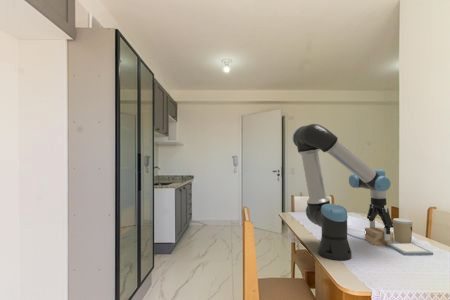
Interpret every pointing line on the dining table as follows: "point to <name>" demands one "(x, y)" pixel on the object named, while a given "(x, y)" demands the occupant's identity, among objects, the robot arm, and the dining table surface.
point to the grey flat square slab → (409, 249)
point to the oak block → (377, 236)
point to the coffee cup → (402, 230)
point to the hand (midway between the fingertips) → (379, 236)
